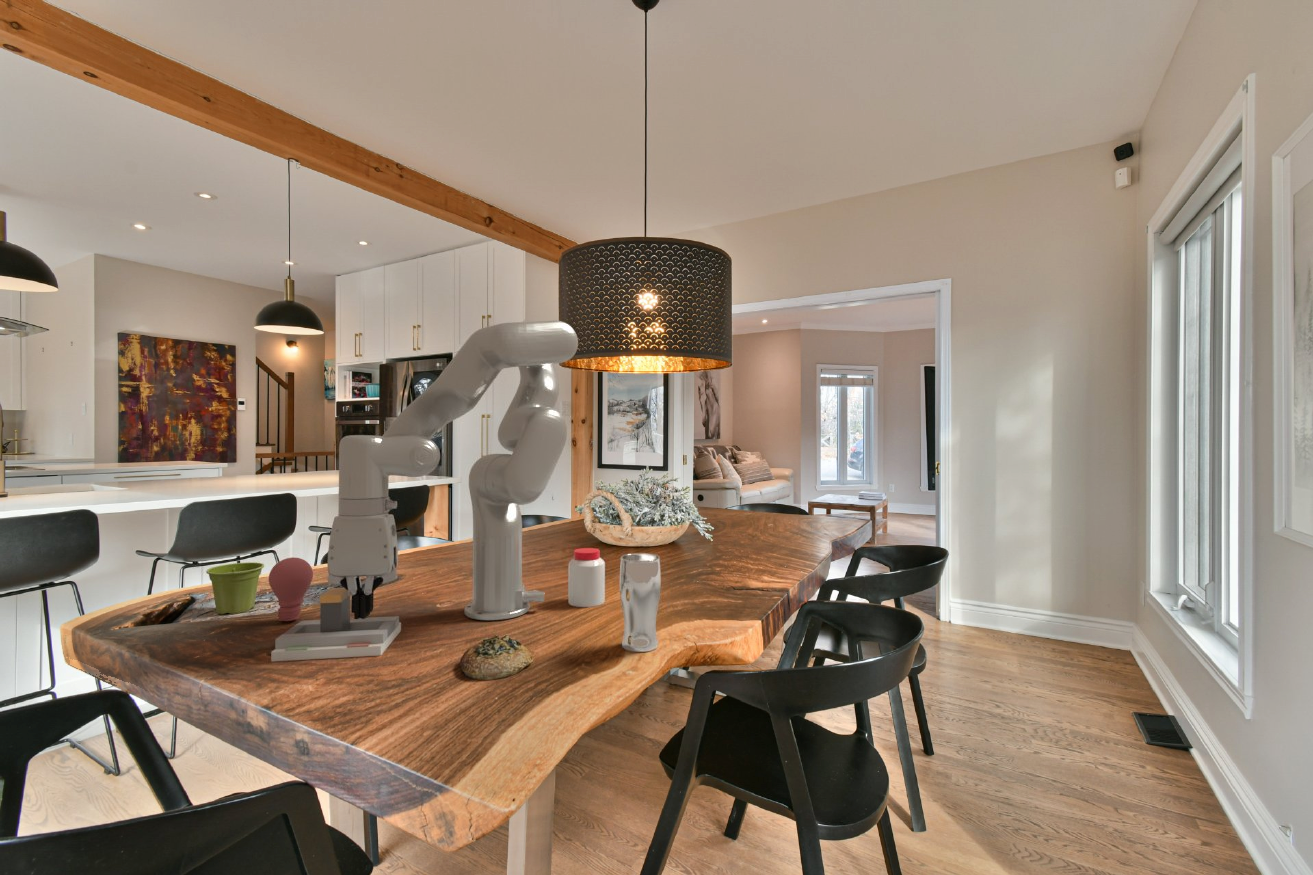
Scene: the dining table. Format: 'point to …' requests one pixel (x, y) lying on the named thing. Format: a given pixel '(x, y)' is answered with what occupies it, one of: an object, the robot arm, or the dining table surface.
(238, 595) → the plant pot
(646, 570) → the beer glass
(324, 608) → the breaker handle
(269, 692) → the dining table surface
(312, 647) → the switch panel
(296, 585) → the light bulb
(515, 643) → the bread roll
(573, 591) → the pill bottle
